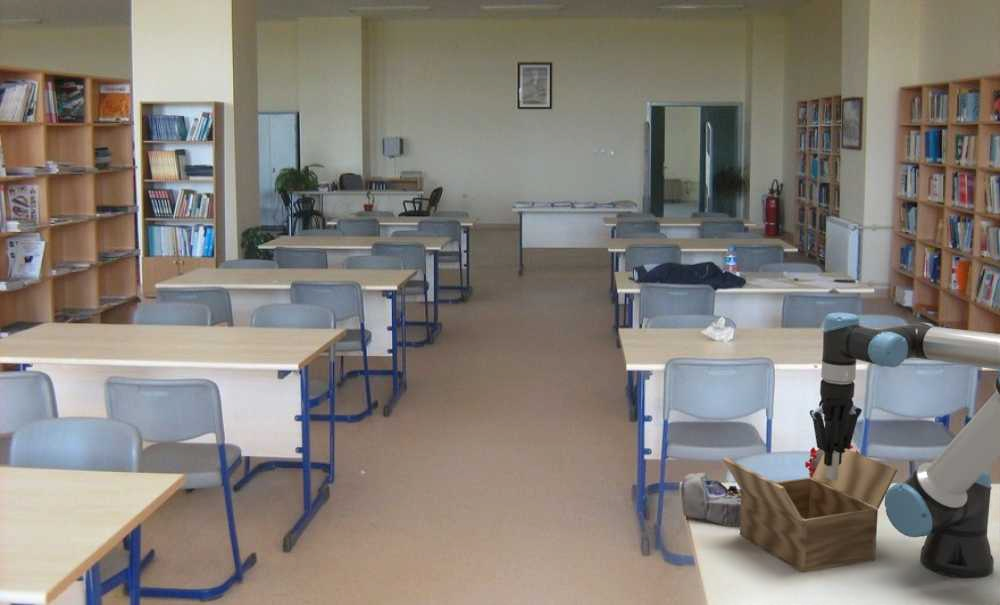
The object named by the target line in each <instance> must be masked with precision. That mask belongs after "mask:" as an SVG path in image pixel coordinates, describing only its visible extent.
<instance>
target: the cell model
mask: <svg viewBox="0 0 1000 605" xmlns="http://www.w3.org/2000/svg"><path fill="white" fill-rule="evenodd" d="M680 494H681V495H680V496H681V499H680V500H681V507H682V513H683V514H682V515H683V516H684V517H685V518H691V519H698V520H702V521H707V522H711V523H714V524H717V523H718V525H725V526H738V527H740V514H741V489H740V488H737V486H736V485H730V486H729V487H728V488H727V487H726V486H725V485H724V484H722V482H721V481H720V480H715V479H709V478H708V476H707V473H705V472H695V473H689V474H687V475H686V476H685V477H684V479H683V480H682V482H681V485H680Z"/></svg>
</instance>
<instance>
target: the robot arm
mask: <svg viewBox="0 0 1000 605" xmlns="http://www.w3.org/2000/svg"><path fill="white" fill-rule="evenodd" d="M860 324H861V323H860V317H859V316H858V315H856V314H853V313H847V312H832V313H828V314H827V315H826V316H825V319H824V325H823V332H822V335H823V338H822V340H823V341H822V342H823V343H822V359H821V373H820V374H821V375H820V376H821V380H820V389H819V394H820V401H819V403H818V407H817V408H816V409H814V410H813V409H811V410H809V415H810V416H811V418H812V421H813V422H812V423H813V428H814V434H815V435H814V436H815V443H816V447H817V449H821V450H823V451H824V464H825V465H826V473H825V477H827V478H829V479H831V480H838V468H839V465H840V464H841V457H842V453H844V452H845V450H844V449H846V448H847V449H848V448H850V444H851V445H852V441H853V437H854V434H855V431H856V426H857V421H858V418H859V417H860V415H861V413H862V408H860V407H858V406H855V405H854V401H853V400H854V399H853V398H854V397H855V385H856V384H855V382H854V381H855V380H856V374H857V373H856V371H857V361H861V362H865V363H869V364H872V365H877V366H879V367H882V368H883V367H887V368H888V367H889V368H897V367H899V366H900V365H901V364H902V363H903V362H905V360H909V359H922V360H929V361H937V362H944V363H949V364H957V365H962V366H968V367H969V366H971V367H976V368H977V367H978V368H984V369H988V370H990V369H992V370H997V371H998V373H999V376H997V377H996V379H995V381H994V382H993V383H994V384H993V385H994V389H995V392H994V393H993V395H991V397H990V398H989V399H988V400H987V401H986V402H985V403H984V404H983V406H982V407H981V408H980V409H979V410H978V411H977V412H976V414H975V415H973V417H972V418H971V419H970V420H969V422H967V423H966V425H965V426H964V427H963V428H962V429H961V430H960V431H959V432H958V433H957V434H956V435H955V437H954V438H953V439H952V440H951V442H949V444H947V446H946V447H945V448H944V449H943V450H942V451H941V452H940V454H939V455H938V456H937V457H936V458H935V459H934V460H933V462H924V463H922V464H920V465H919V466H918V467H917V468H916V469H915V470H914V471H913V472H912V474H910V476H909V477H908V478H907V479H906V480H905V481H903V482H898V483H896V484H894V485H892V486H891V487H889V489H888V491H887V493H886V495H885V497H884V506H885V513H886V516H887V518H888V520H889V522H890V524H891V525H892V526H893V527H894V528H895V529H896V531H897V532H899V533H900V534H902V535H904V536H905V537H909V538H919V537H926V538H925V541H924V543H923V544H924V545H922V546H921V549H920V557H919V558H920V559H919V560H920V563H921V564H922V565H923V566H924V567H926V568H927V569H929V570H931V571H934V572H936V573H938V574H939V573H940V574H943V575H946V576H951V577H955V578H956V577H957V578H965V579H967V578H968V579H969V578H970V579H971V578H982V577H986V576H989V575H990V574H993V571H994V563H995V562H994V556H993V555H992V551H991V546H990V542H989V538H988V526H989V516H990V503H991V490H992V477H991V474H990V472H989V471H987V470H988V468H990V467H991V466H992V465H993V464H994V463H995V462H996V460H997V459H998V458H999V457H1000V333H991V332H983V331H974V330H965V329H959V328H958V329H957V328H949V327H940V326H934V325H933V324H932V323H929V322H914V323H910V324H905V325H900V326H893V327H886V328H880V329H876V328H869V327H864V326H862V325H860Z"/></svg>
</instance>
